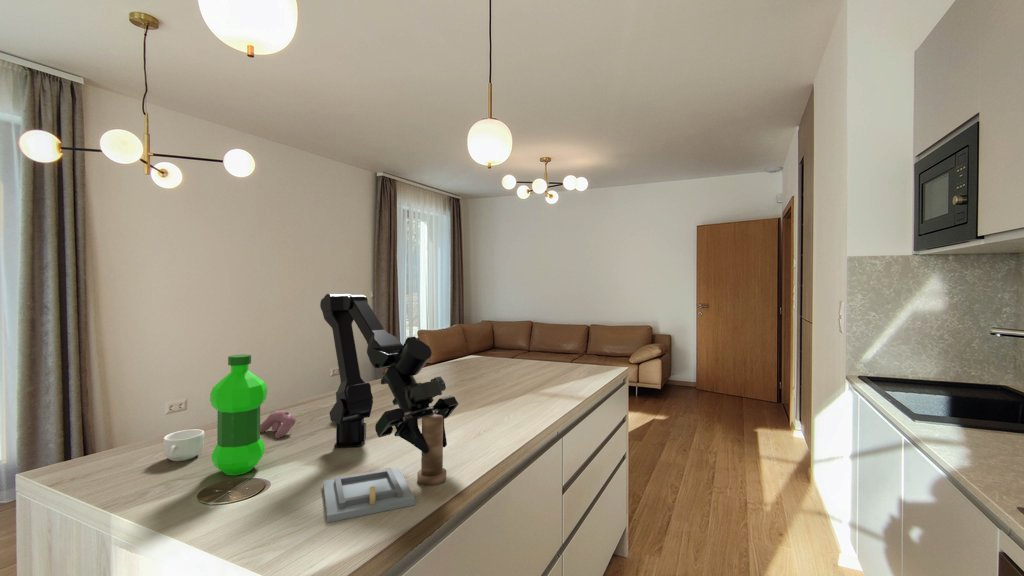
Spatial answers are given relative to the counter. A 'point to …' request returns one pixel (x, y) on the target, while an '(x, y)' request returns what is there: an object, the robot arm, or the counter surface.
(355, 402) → the robot arm
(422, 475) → the flanged spindle
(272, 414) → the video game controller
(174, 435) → the teacup
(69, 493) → the counter surface
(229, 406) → the plastic bottle
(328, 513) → the base plate
